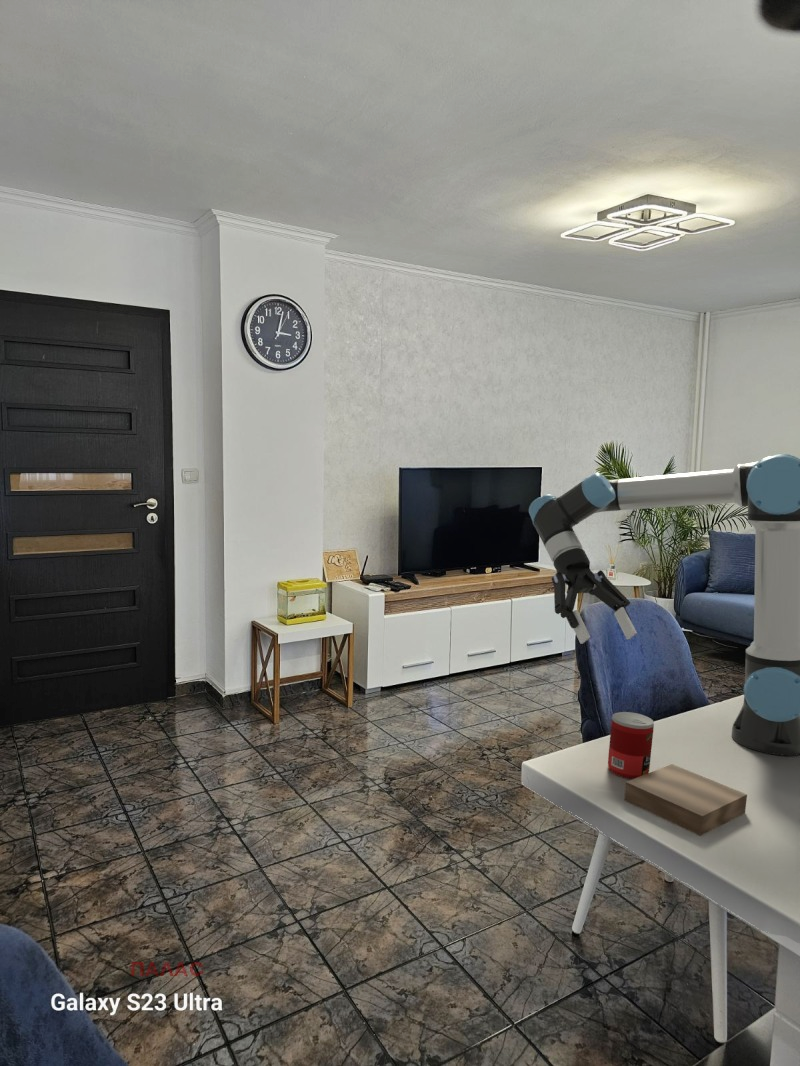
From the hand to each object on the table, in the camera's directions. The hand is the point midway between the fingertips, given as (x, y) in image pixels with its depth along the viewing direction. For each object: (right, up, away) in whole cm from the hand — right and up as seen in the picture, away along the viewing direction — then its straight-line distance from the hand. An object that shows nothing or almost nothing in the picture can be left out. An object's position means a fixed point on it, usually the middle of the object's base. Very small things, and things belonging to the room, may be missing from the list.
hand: (609, 638), depth 159 cm
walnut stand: (+7, -27, -23) cm, 36 cm away
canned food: (+1, -26, -9) cm, 27 cm away
